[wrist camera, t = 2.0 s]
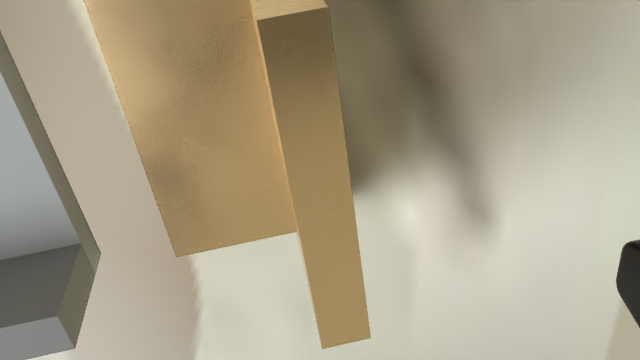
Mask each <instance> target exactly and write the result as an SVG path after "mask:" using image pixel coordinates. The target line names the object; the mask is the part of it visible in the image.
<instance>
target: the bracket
mask: <svg viewBox="0 0 640 360" xmlns="http://www.w3.org/2000/svg"><path fill="white" fill-rule="evenodd" d="M84 3H85V5H86V8H87V11H88V14H89V16H90V19H91V22H92V25H93V28H94V30H95V33H96V36H97V39H98V41H99V44H100V47H101V50H102V52H103V55H104V58H105V61H106V64H107V66H108V69H109V72H110V75H111V77H112V80H113V83H114V86H115V89H116V91H117V94H118V97H119V100H120V102H121V105H122V108H123V111H124V114H125V116H126V119H127V122H128V125H129V127H130V130H131V133H132V136H133V138H134V141H135V144H136V147H137V150H138V152H139V155H140V158H141V161H142V163H143V166H144V169H145V172H146V175H147V177H148V180H149V183H150V185H151V188H152V191H153V194H154V197H155V199H156V202H157V205H158V208H159V210H160V213H161V216H162V219H163V222H164V224H165V227H166V230H167V233H168V235H169V238H170V241H171V244H172V247H173V249H174V252H175V255H176V257H179V256H185V255H189V254H194V253H199V252H203V251H208V250H213V249H217V248H222V247H227V246H232V245H236V244H241V243H246V242H250V241H255V240H260V239H264V238H269V237H274V236H278V235H283V234H288V233H292V232H297V235H298V240H299V245H300V249H301V254H302V258H303V263H304V267H305V272H306V277H307V281H308V286H309V290H310V295H311V299H312V304H313V309H314V313H315V318H316V322H317V327H318V331H319V336H320V341H321V345H322V349H325V348H329V347H333V346H338V345H342V344H346V343H351V342H355V341H360V340H364V339H368V338H371V336H370V328H369V321H368V313H367V305H366V297H365V289H364V282H363V274H362V266H361V258H360V250H359V243H358V235H357V227H356V219H355V211H354V204H353V196H352V188H351V180H350V173H349V165H348V157H347V149H346V141H345V134H344V126H343V118H342V110H341V102H340V95H339V87H338V79H337V71H336V63H335V56H334V48H333V40H332V32H331V24H330V17H329V9H328V6H327V4H326V3H325V2H324V0H84Z"/></svg>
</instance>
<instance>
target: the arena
mask: <svg viewBox="0 0 640 360" xmlns="http://www.w3.org/2000/svg"><path fill="white" fill-rule="evenodd" d="M100 255H101V252H100V250H99V248H98V246H97V244H96V241H95V239H94V237H93V235H92V232H91V230H90V228H89V226H88V224H87V221H86V219H85V217H84V215H83V213H82V210H81V208H80V206H79V204H78V202H77V199H76V197H75V195H74V193H73V190H72V188H71V186H70V184H69V182H68V180H67V177H66V175H65V173H64V171H63V169H62V166H61V164H60V162H59V160H58V157H57V155H56V153H55V151H54V149H53V146H52V144H51V142H50V140H49V138H48V135H47V134H46V131H45V129H44V127H43V124H42V122H41V120H40V118H39V116H38V113H37V111H36V109H35V107H34V104H33V102H32V100H31V98H30V96H29V94H28V91H27V89H26V87H25V85H24V82H23V80H22V78H21V76H20V74H19V72H18V69H17V67H16V65H15V63H14V60H13V58H12V56H11V54H10V51H9V49H8V47H7V45H6V43H5V40H4V38H3V36H2V34H1V32H0V360H26V359H30V358H35V357H39V356H44V355H48V354H53V353H57V352H62V351H66V350H71V349H75V347H76V343H77V339H78V336H79V332H80V328H81V324H82V321H83V317H84V313H85V310H86V306H87V303H88V299H89V295H90V292H91V288H92V284H93V281H94V277H95V273H96V270H97V266H98V262H99V259H100Z"/></svg>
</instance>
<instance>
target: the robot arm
mask: <svg viewBox="0 0 640 360" xmlns="http://www.w3.org/2000/svg"><path fill="white" fill-rule="evenodd" d="M616 284H617V289H618V292H619V294H620V296H621V298H622V299H623V301H624V303H625V304H626V306H627V308H628V309H629V311H630V313H631V314H632V316H633V318H634V319H635V321H636V323H637V324H638V326H639V328H640V240H635V241H631V242H628V243H626V244H625V245H624V247H623V249H622V252H621V258H620V263H619V268H618V273H617V278H616Z"/></svg>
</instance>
